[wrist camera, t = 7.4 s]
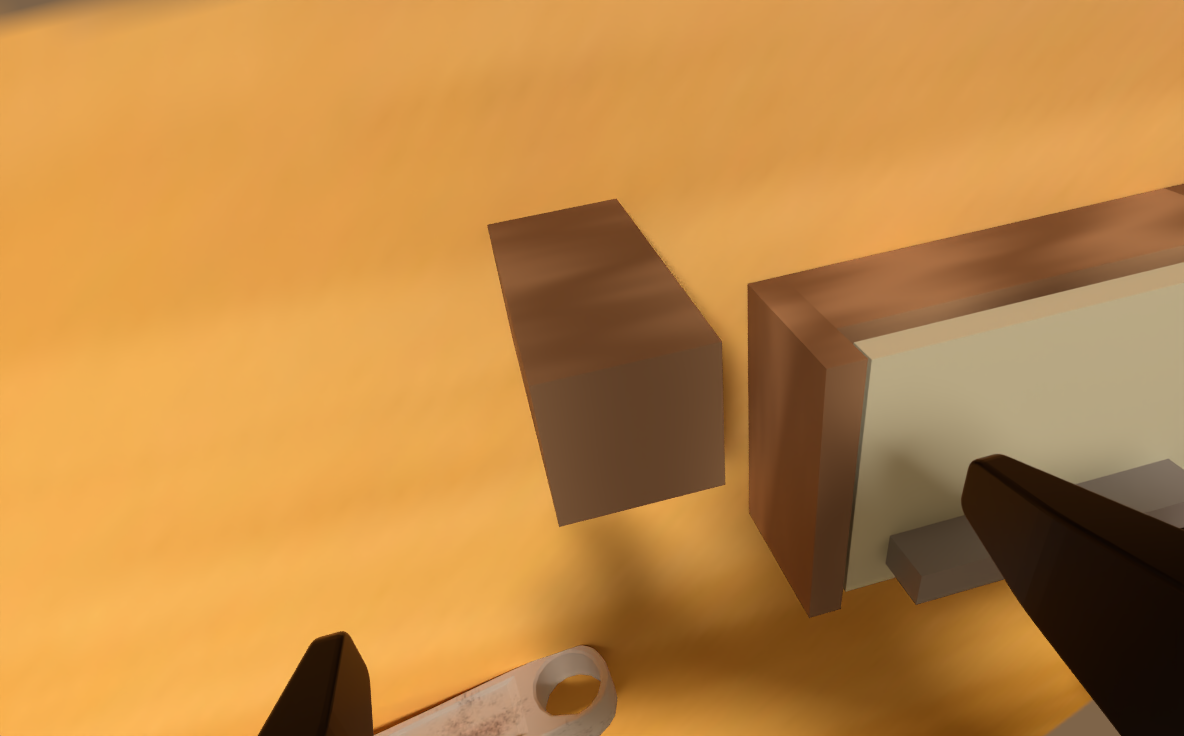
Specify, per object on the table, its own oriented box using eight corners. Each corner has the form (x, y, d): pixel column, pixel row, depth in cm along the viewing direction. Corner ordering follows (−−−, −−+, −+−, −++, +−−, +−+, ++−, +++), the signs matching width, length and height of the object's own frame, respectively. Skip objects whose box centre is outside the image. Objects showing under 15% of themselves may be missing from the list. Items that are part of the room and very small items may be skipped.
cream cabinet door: (1263, 242, 18) (1363, 280, 16) (1158, 479, 23) (1226, 530, 21) (853, 342, 17) (910, 396, 15) (832, 571, 21) (873, 633, 20)
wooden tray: (1193, 181, 21) (1359, 237, 17) (1107, 417, 26) (1221, 499, 22) (747, 284, 19) (826, 369, 16) (749, 513, 24) (809, 617, 21)
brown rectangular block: (616, 198, 17) (722, 341, 11) (628, 312, 19) (725, 485, 13) (487, 225, 17) (528, 386, 11) (512, 337, 19) (559, 526, 13)
